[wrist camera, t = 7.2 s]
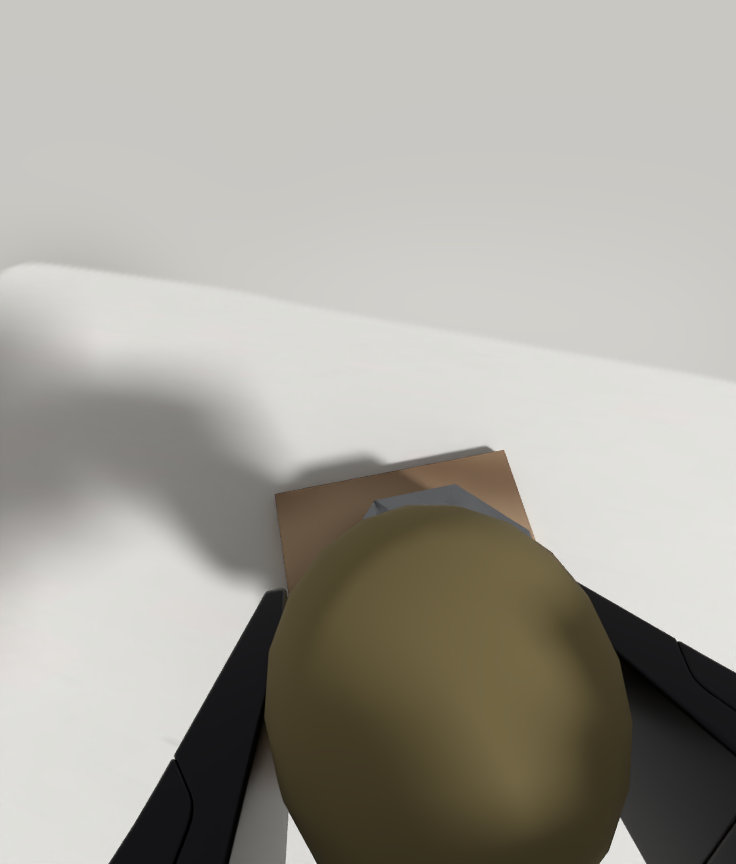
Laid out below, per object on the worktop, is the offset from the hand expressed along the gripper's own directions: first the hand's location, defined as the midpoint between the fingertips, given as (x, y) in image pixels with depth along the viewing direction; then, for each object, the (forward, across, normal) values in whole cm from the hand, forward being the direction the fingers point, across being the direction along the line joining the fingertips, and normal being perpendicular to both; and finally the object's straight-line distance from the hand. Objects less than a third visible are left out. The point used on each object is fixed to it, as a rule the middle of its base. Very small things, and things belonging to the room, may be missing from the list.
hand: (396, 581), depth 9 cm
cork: (+4, 0, +6) cm, 7 cm away
